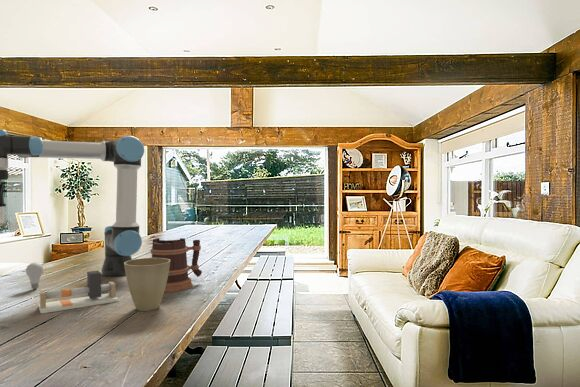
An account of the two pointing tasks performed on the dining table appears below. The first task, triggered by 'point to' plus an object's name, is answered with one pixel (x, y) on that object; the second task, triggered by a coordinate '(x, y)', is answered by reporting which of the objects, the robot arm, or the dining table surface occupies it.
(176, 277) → the mug
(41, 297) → the rail
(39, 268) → the lightbulb
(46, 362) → the dining table surface
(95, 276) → the dark grey slider block
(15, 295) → the dining table surface
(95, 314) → the dining table surface
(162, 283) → the plant pot
